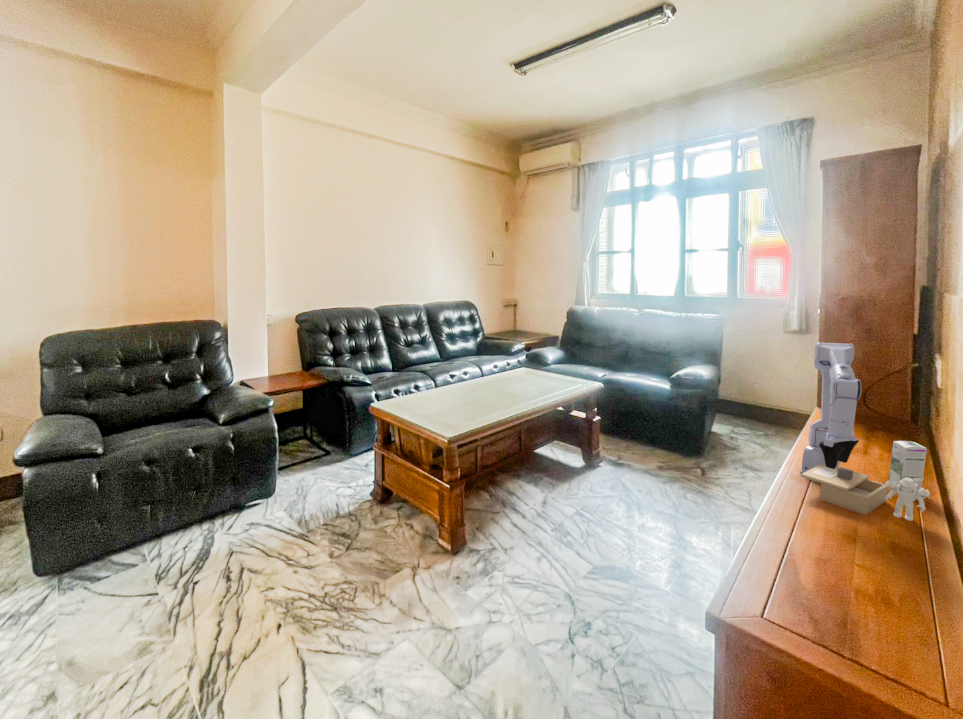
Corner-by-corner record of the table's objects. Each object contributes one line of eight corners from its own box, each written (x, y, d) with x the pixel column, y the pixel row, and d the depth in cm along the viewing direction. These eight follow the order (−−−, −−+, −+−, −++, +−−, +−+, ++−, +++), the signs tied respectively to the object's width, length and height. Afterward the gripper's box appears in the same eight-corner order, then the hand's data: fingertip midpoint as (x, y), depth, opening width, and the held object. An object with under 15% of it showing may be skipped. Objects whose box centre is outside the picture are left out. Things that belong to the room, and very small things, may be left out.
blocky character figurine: (926, 520, 122) (933, 478, 120) (924, 526, 119) (931, 483, 117) (882, 508, 129) (888, 468, 127) (879, 513, 126) (885, 472, 124)
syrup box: (921, 493, 136) (929, 447, 134) (898, 492, 138) (905, 446, 135) (908, 485, 142) (915, 440, 139) (886, 484, 143) (892, 440, 140)
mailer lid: (800, 476, 138) (801, 466, 137) (823, 465, 145) (824, 455, 145) (846, 491, 128) (848, 480, 128) (868, 478, 136) (869, 467, 135)
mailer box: (819, 499, 135) (821, 483, 134) (840, 487, 142) (842, 472, 141) (865, 515, 125) (867, 498, 124) (885, 501, 133) (887, 485, 132)
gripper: (847, 428, 124) (841, 475, 126) (869, 418, 132) (863, 463, 134) (817, 421, 130) (812, 466, 132) (840, 413, 137) (835, 455, 140)
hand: (836, 464), depth 134 cm, fingers open, 7 cm apart
